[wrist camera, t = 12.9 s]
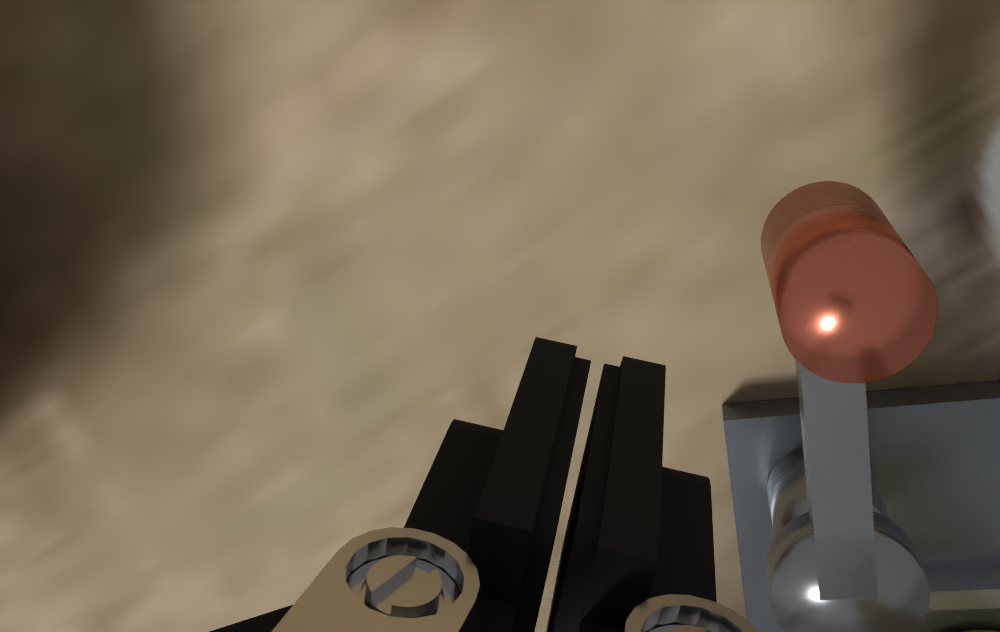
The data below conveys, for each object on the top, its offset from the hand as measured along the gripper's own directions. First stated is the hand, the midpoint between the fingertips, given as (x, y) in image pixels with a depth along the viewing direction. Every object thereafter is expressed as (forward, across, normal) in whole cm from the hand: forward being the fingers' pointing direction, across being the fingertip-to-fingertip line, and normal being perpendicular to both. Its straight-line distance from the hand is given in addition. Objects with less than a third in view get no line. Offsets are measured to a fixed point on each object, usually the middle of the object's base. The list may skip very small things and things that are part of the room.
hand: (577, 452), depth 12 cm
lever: (+14, -7, +6) cm, 17 cm away
